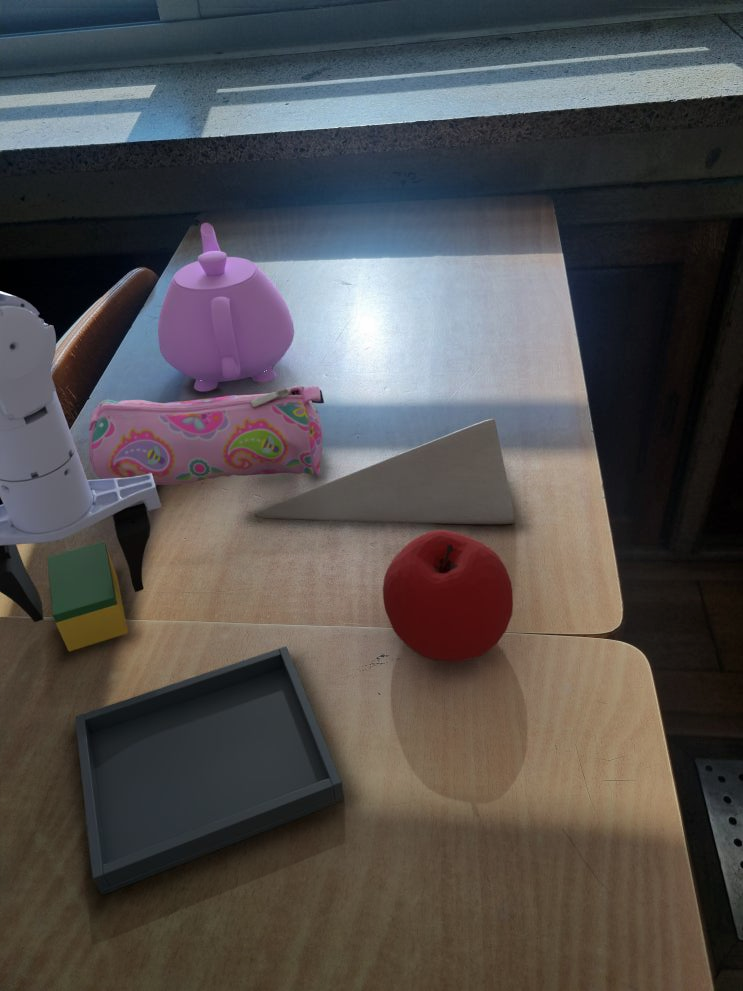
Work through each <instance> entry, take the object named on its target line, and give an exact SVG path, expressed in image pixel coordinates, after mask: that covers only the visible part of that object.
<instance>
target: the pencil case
mask: <svg viewBox="0 0 743 991" xmlns="http://www.w3.org/2000/svg"><path fill="white" fill-rule="evenodd" d="M324 403H325V401H324V397H323V391H322V389H320V386H319V385H308V386H304V385H300V384H298V385H295V386H292V387H289V388H282V389H279V390H277V392H276V391H274V392H273V391H272V392H270V393H257V394H256V393H255V394H241V395H240V394H239V395H235V394H233V395H223V396H219V397H218V396H217V397H209V398H198V399H192V400H191V399H190V400H184V401H170V402H164V403H163V402H156V401H151V400H146V399H129V400H127V399H125V400H124V399H123V400H118V401H116V400H113V399H103V400H102V401H100V402H99V403H98V406H96V407H95V408H94V409H93V411H92V414H91V417H90V419H89V420H90V421H89V425H88V431H90V437H89V442H88V450H89V451H88V452H89V454H88V455H89V460H90V463H91V466H92V469H93V471H94V473H95V474H96V476H97V477H98V479H113V478H127V477H136V476H141V475H146V474H150V473H151V474H152V476H153V480H154V483H155V486H163V485H164V486H165V485H187V484H194V483H197V482H201V481H206V480H211V479H212V480H213V479H217V478H222V477H233V476H236V477H237V476H239V477H240V476H241V477H243V476H264V475H265V476H266V475H277V474H293V475H303V474H305V475H308V476H311V477H315V476H317V477H318V476H320V474H321V463H322V462H321V461H322V456H323V455H322V454H323V444H324V440H323V438H324V436H323V426H322V421H321V417H320V414H319V412H318V410H317V408H316V407H315V405H314V404H324Z"/></svg>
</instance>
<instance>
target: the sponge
mask: <svg viewBox="0 0 743 991" xmlns="http://www.w3.org/2000/svg"><path fill="white" fill-rule="evenodd" d="M111 558H112V557H111V555H110V553H109V550H108V547H107V545H106V542H105V541H104V540H102V541H99V542H96V543H92V544H88V545H84V546H81V547H78V548H74V549H70V550H67V551H64V552H60V553H56V554H53V555H49V556H47V557H46V560H47V570H48V582H49V593H50V603H51V614H52V617H53V620H54V622H55V624H56V626H57V629H58V631H59V633H60V635H61V638H62V640H63V642H64V645H65V647H66V649H67V651H68V652H72V651H76V650H78V649H82V648H85V647H88V646H91V645H95V644H98V643H101V642H105V641H107V640H111V639H114V638H118V637H120V636H124V635H127V634H128V633H129V631H128V626H127V621H126V620H127V619H126V615H125V610H124V606H123V605H124V604H123V599H122V595H121V590H120V585H119V580H118V575H117V572H116V570H115V567H114V564H113V561H112V559H111Z"/></svg>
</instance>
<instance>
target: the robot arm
mask: <svg viewBox="0 0 743 991" xmlns="http://www.w3.org/2000/svg"><path fill="white" fill-rule="evenodd" d="M39 315H40V312H39V310H37V308H36V307H35V306H33V304H31V303H30V302H28V301H27V300H25V299H23V298H21V297H19V296H16V295H12V294H10V293H7V292H4V291H1V290H0V500H1V501H2V504H0V593H1V594H3V595H4V596H5V597H7V598H9V599H10V600H11V601H12V602H14V603H15V604H16V605H18V607H20V609H22V610H23V611H24V612H25V613H26V614H27V616H29V618H30V619H31V620H32V621H33V622H34V623H38V622H41V621H44V609H43V602H42V598H41V596H40V594H39V591H38V589H37V587H36V585H35V583H34V582H33V580H32V578H31V576H30V574H29V572H28V571H27V569H26V567H25V564H24V561H23V559H22V556H21V554H20V551H19V549H18V546H17V545H27V544H28V545H31V544H44V543H52V542H56V541H60V540H64V539H67V538H69V537H71V536H73V535H75V534H77V533H80V532H81V531H83V530H85V529H87V528H88V527H92V526H93V525H95V524H97V523H99V522H101V521H103V520H105V519H107V518H109V517H112V519H113V524H114V529H115V534H116V538H117V541H118V543H119V546H120V548H121V551H122V553H123V556H124V558H125V561H126V563H127V567H128V571H129V572H128V573H129V576H130V582H131V584H132V588H133V590H134V593H136V592H140V591H143V590H144V588H145V587H144V583H143V561H144V555H145V551H146V547H147V544H148V541H149V538H150V536H151V526H152V525H151V521H150V518H149V514H148V511H153V510H156V509H160V508H162V503H161V500H160V496H159V493H158V490H157V487H156V486H157V485H155V483H154V480H153V476H152V474H151V473H150V474H146V475H141V476H136V477H127V478H113V479H99V478H98V479H87V478H88V477H87V475H86V472H85V469H84V467H83V464H82V462H81V458H80V456H79V452H78V450H77V447H76V445H75V441H74V439H73V436H72V433H71V431H70V430H71V429H70V426H69V425H68V421H67V419H66V416H65V413H64V411H63V407H62V405H61V401H60V399H59V397H58V394H57V393H58V392H57V388H56V385H55V383H54V380H53V377H52V365H53V362H54V359H55V355H56V349H57V336H56V330H55V328H54V325H52V324H49V323H45V321H44V319H43V318H41V317H40V316H39Z"/></svg>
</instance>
